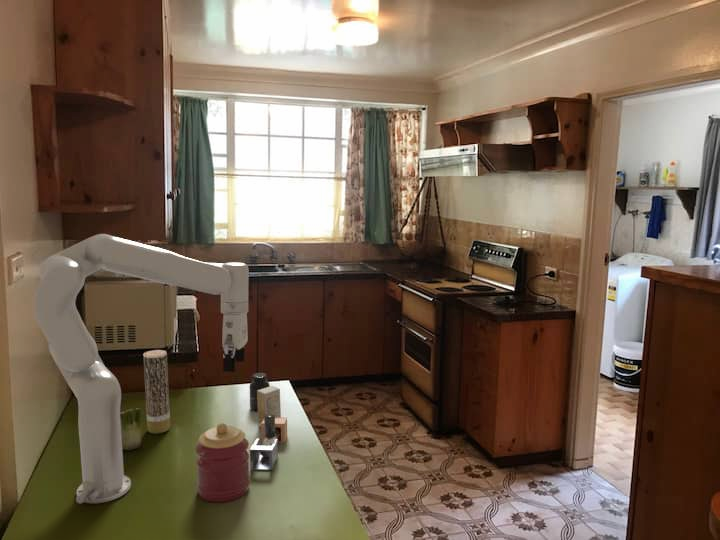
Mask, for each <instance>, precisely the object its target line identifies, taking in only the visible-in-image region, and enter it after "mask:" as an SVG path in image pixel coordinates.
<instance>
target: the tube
mask: <svg viewBox="0 0 720 540" xmlns="http://www.w3.org/2000/svg"><path fill="white" fill-rule="evenodd" d="M264 422H265V439H264V441H263V442H261V445H260V446H272V444H273V442H274V439H277V440H278V437H279V435H280V431H279V429H278V428H276V427H275V415H274V414H267V415H265V416H264ZM260 455H262V456H264V457H269V452H260Z"/></svg>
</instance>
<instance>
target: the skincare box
mask: <svg viewBox="0 0 720 540" xmlns="http://www.w3.org/2000/svg"><path fill="white" fill-rule="evenodd" d="M257 403H258V412H257V420H258V421H257V424H258V427H259V428H261V423H262V421H263V419H264V416H265V415H267V414H274V415H275V417H278V418H282V416H281V415H282V413H281V409H282V408H281V389H280V388H279V387H276V386H274V385H270V386H269V387H266V388H263V389H260V390H257Z"/></svg>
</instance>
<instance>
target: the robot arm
mask: <svg viewBox="0 0 720 540" xmlns="http://www.w3.org/2000/svg"><path fill="white" fill-rule="evenodd" d="M38 269H39V270H38V276H39V279H40V281H41V282H40V283H39V284H38V286H37V288H36V290H35V293H34V297H33V303H32V304H33V312H34V316H35V318H36V322H37V323H38V324H39V327H40V329H41V331H42V333H43V335H44V336H45V339H46V340H47V343H48V350H49V353H50V355H51V357H52V359H53V361H54V362H55V364H56V366H57V368H58V370H59V372H60V373H61V375H62V376H63V378H64V379H65V382H66V383H67V385H68V387H69V388H70V389H71V392H72V393H73V394H74V396H75V397H76V399H77V404H78V409H77V410H78V413H77V414H78V417H77V418H78V420H77V421H78V423H77V425H78V437H79V447H80V449H79V450H80V451H79V452H80V462H81V463H80V464H81V465H80V466H81V476H82V477H81V478H82V483H81V484H80V485H79V486H78V488H77V489H76V497H75V501H76V503H77V504H83V503H86V504H102V503H107V502H111V501H114V500H116V499H118V498H121V497H122V496H124V495H126V494H127V493H128V491H130V489H131V488H132V480H131V478H130V477H129V476H127V475H125V472H124V471H125V469H124V454H123V448H122V436H121V418H120V413H121V404H122V403H121V402H122V389H121V385H120V383H119V380H118V378H117V377H116V376H115V375H114V374H113V373H112V372H111V371H110V370H109V368H108V367H106V366H105V364H104V362H103V360H102V359H101V357H100V355H99V349H98V345H97V342H96V341H95V339H94V338H93V336H92V335H91V334H90V332H89V329H87V326H86V325H85V323H84V321H83V320H82V317H81V315H80V313H79V311H78V309H77V305H76V300H77V296H78V294H79V293H80V291H81V289H82V288H83V286H84V284H85V280H86V278H87V277H88V276H90V275H93V274H95V273H96V272H98V271H100V270H104V271H106V272H107V271H108V272H111V273H115V274H120V275H126V276H130V277H132V278H133V277H135V278H139V279H143V280H146V281H152V282H156V283H159V284H162V285H163V284H164V285H168V286H169V285H170V286H176V287H180V288H184V289H188V290H192V291H196V292H197V291H198V292H201V293H206V294H211V295H216V296H217V295H220V313H221V314H223V317H222V318H223V319H222V338H221V340H222V342H221V343H222V344H221V345H222V348H223V351H222V353H223V355H222V357H223V358H222V362H223V363H222V365H223V366H222V370H223V372H226V373H227V372H228V373H234V372H236V362H237V363H238V362H240V363H243V362H245V346H246V344H247V343H248V341H249V340H248V339H249V337H248V336H249V335H248V316H247V315H248V313H249V282H250V281H249V279H250V278H249V274H250V272H249V270H250V269H249V266H248V264H246V263H243V262H238V261H236V262H235V261H233V262H225V263H217V262H203V261H201V260H200V261H199V260H196V259H193V258H189V257H187V256H186V257H185V256H184V255H180V254H178V253H175V252H173V251H170V250H167V249H163V248H161V247H156V246H152V245H148V244H145V243H144V244H143V243H141V242H137V241H133V240H130V239H124V238H122V237H118V236H114V235H111V234H107V233H99V234H95V235H93V236H90V237H88V238H86V239H84V240H82V241H80V242H78V243H76V244H73V245H71V246H69V247H67V248H65V249H63V250H61V251H59V252H56V253H55V254H52V255H51V256H49V257H47V258H46V259H44V260H43V261H42V263H41V264H40V267H39V268H38Z"/></svg>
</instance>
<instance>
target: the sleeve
mask: <svg viewBox="0 0 720 540" xmlns="http://www.w3.org/2000/svg"><path fill="white" fill-rule="evenodd" d="M278 444H279V443H277V439H274V442H273V444H272V446H261V445H260V438H256V439H255V440H254V442H253V444H251V446H250V449H249V463H250V464H249V466H250V469H249V471H257V470H274V468H275V465H276V463H275V462H277V459H278V458H277V457H278V455H279V453H278ZM260 452H269V457H264V456H262V455H261V454H260ZM273 467H274V468H273Z"/></svg>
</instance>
